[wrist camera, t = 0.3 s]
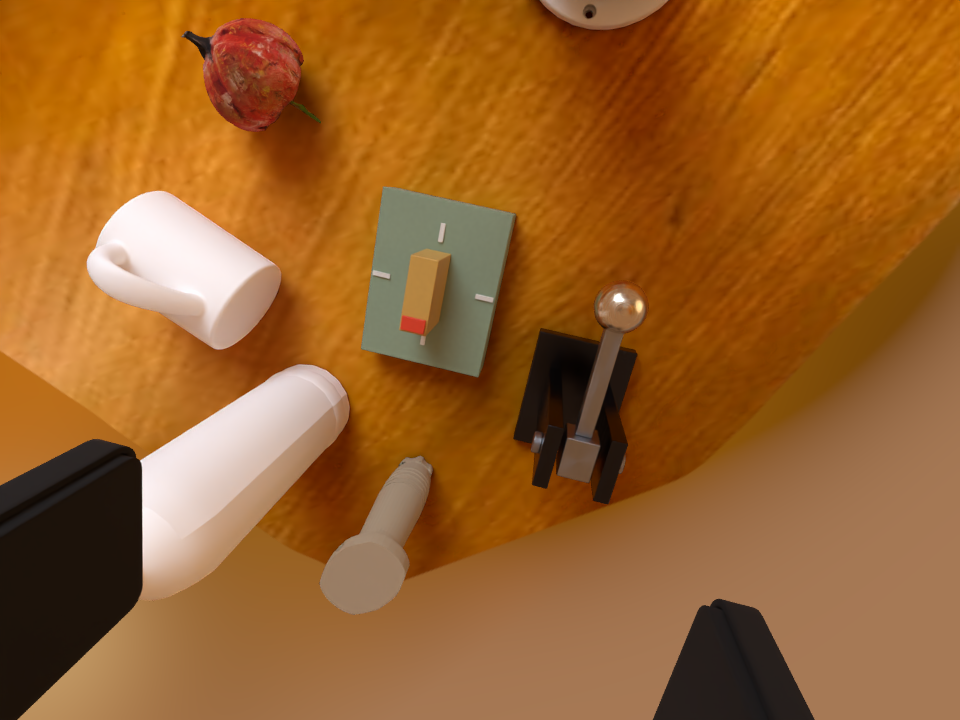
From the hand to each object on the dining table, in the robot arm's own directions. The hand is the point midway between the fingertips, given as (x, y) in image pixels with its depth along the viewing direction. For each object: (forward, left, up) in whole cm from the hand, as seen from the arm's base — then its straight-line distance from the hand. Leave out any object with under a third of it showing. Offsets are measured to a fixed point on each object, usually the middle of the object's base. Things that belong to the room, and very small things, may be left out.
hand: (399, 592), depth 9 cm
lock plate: (+2, -7, -36) cm, 37 cm away
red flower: (-10, -22, -36) cm, 43 cm away
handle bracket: (+9, +6, -36) cm, 38 cm away
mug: (+5, -26, -36) cm, 45 cm away
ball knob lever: (+4, +6, -27) cm, 28 cm away
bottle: (+16, -17, -36) cm, 43 cm away
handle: (+20, -6, -36) cm, 42 cm away
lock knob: (+2, -7, -33) cm, 34 cm away
